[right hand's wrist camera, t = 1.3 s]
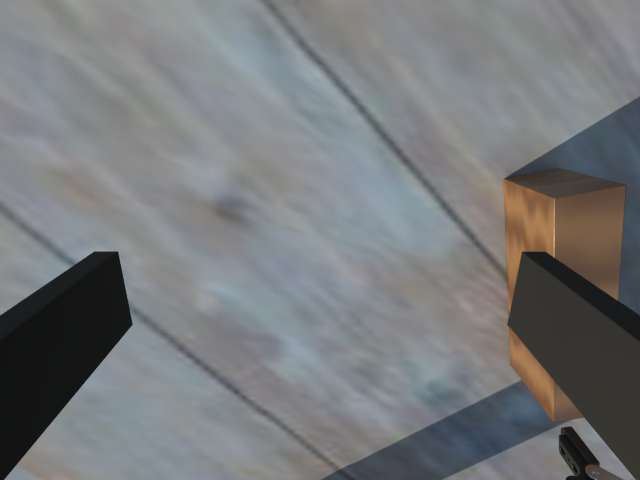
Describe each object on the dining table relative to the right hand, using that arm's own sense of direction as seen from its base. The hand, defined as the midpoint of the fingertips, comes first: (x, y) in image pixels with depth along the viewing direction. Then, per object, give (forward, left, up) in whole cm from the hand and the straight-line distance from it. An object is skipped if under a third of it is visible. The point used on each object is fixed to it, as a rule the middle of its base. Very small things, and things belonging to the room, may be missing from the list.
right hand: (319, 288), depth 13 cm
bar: (+3, +26, -27) cm, 37 cm away
